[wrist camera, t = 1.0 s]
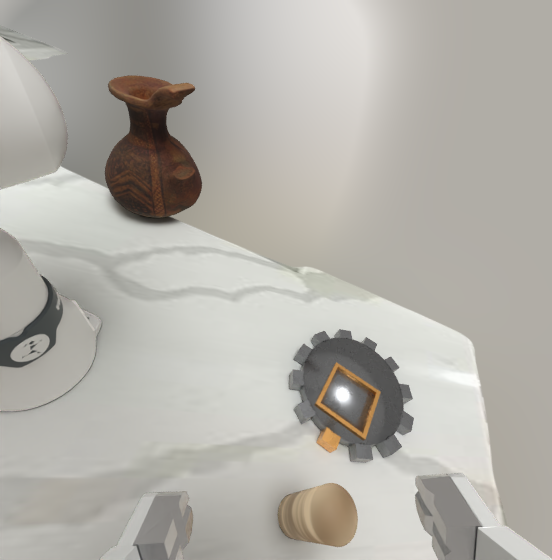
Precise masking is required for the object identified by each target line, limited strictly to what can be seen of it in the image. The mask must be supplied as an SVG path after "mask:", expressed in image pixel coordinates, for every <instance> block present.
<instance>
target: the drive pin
mask: <svg viewBox="0 0 552 560" xmlns="http://www.w3.org/2000/svg"><path fill="white" fill-rule="evenodd" d="M278 521H279V525H280V528H281V530H282V531H283V533H284V534H285V535H286V536H287V537H289V538H292V539H296V540H302V541H307V542H313V543H318V544H324V545H329V546H335V547H342V546H345V545H347V544H348V543H349V542H350V541H351V540H352V539H353V537H354V535H355V533H356V529H357V522H358V518H357V510H356V507H355V504H354V501H353V499H352V497H351V496H350V494H349V493H348V492H347V491H346V490H345V489H344V488H343V487H342V486H340V485H338V484H334V483H328V484H324V485H321V486H317V487H314V488H310V489H307V490H303V491H300V492H296V493H293V494H290V495H287V496H286V497H285V498H284V499H283V500H282V501H281V503H280V506H279V509H278Z"/></svg>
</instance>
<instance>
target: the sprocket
mask: <svg viewBox="0 0 552 560" xmlns="http://www.w3.org/2000/svg"><path fill="white" fill-rule="evenodd" d="M311 342H312V344H313V345H314V348H313V349H311V348H309V347H308V346H306V345H305V344H303V345H302V347H301V348H300V350H299V351H298V353H297V355H296V356H295V358H294V360H295V361H297V362H298V363H300V364H301V365H302V368H301V371H300V370H292V372H291V373H290V375H289V389H292V390H300V394H301V398H302V401H303V402H302V403H300V404H298V406H297V407H296V408H295V409H294V410H295V412H296V414H297V416H298V418H299V420H300V422H301V424H303V423H305V422H306V421H308V420H310V419H312V421H313V422H314V423H315V425H316V426H317V427H318V428H319V429H320V430H321V433H320V435H319V438H318V440H317V443H318V444H319V445H320V446H322V447H323V448H324V449H326V450H327V451H328V452H330V453H331V452H332V451H334V450H336V449H337V446H338V444H339V443H340V444H342V445H345V446H348V447H349V454H350V461H354V462H368V461H371V460H373V456H372V450H371V446H374V445H376V447H377V449H378V450H379V452H380V453H381V455H382V457H383V458H384V457H387V456H390V455H392V454H393V453H395V452H396V451H397V450H398V449H400V448H401V447H402V446H401V444H400V443H399V441H398V440H397V438H396V437H395V435H394V433H395V432H396V431H397V432H399V433H400V434H402V435H404V434H406V433H408V432H411V430H412V425H413V420H414V418H413V417H412V416H410V415H409V414H407V413H406V412H404V411H403V405H404V404H403V403H406V402H408V401H410V400H412V399H413V398H412V395H411V392H410V388H409V385H404V384H399V383H398V380H397V378H396V376H395V374H394V373H393V372H394V371H396V370H397V369H398V368H399V366H398V365H397V364H396V363H395V361H394V360H393V359H392V357H389V358H387V359H385V360H384V359H383V358H382V357H381V356H380V355H379V354H377V353H376V352H375V348H376V346H377V344H376V343H375V342H373V341H371V340H370V339H368V338H367V337H366V338H365V339H364V340H363V341H362V342H361V343H360V342H358V341H355V340H352V336H351V331H346V330H340V329H339V331H338V332H337V333H336V335H335V338H332V339H330V338H329V337H328V335H327V334H326V332H325V331H323V332H320V333H317V334H315V335H314V337H313V338H312V340H311Z"/></svg>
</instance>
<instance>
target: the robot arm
mask: <svg viewBox="0 0 552 560" xmlns="http://www.w3.org/2000/svg"><path fill="white" fill-rule="evenodd" d="M67 139H68V134H67V126H66V122H65V118H64V114H63V111H62V109H61V106H60V104H59V102H58V100H57V98H56V96H55V94H54V93H53V91H52V90H51V88H50V86H49V84H48V83H47V82H46V80H45V79H44V78H43V77H42V75H41V74H40V73H39V72H38V70H37V69H36V68H35V67H34V66H33V65H32V63H30V61H29V60H28V59H27V58H25V57H24V56H23V55H22V54H21V53H20V52H19V51H18V50H17V49H16V48H14V47H13V46H12V45H11V44H10V43H8V42H7V41H6V40H4V39H3V38H2V37H1V36H0V190H1V189H4V188H8V187H11V186H14V185H18V184H21V183H25V182H28V181H31V180H34V179H37V178H40V177H43V176H46V175H49V174H52V173H55V172H56V171H57V170H58V169H59V167H60V165H61V164H62V161H63V159H64V157H65V154H66V149H67ZM88 319H89V320H88ZM101 325H102V321H101V320H100V318H99V317H98V316H96V315H94V314H92V313H90V312H88V311H86V310H83V309H81V308H80V307H79V305H78V304H77V302H76V301H75V300H69V299H68V298H66V297H64V296H61V295H59V294H58V293H57V291H56V289H55V288H54V287H53V286H52V284H50V283H49V281H48V280H47V279H46V278H45V277H43V276H41V275H40V274H39V273H38V271H37V270H36V268H35V266H34V265H33V263H32V262H31V260H30V259H29V257H28V255H27V254H26V252H25V251H24V249H23V248H22V246H21V244H20V243H19V242H18V240H17V239H16V238H14V237H13V236H12V235H11V234H9V233H8V232H6V231H5V230H3V229H1V228H0V411H22V410H27V409H32V408H35V407H38V406H41V405H44V404H46V403H49V402H51V401H53V400H55V399H57V398H58V397H60V396H62V395H63V394H65V393H66V392H68V391H69V390H70V389H71V388H73V387H74V386H75V385H76V384H77V383H78V382H79V381H80V380H81V379H82V378H83V377H84V376H85V374H86V373H87V372H88V370H89V368H90V367H91V365H92V363H93V360H94V358H95V354H96V336H97V334H98V332H99V330H100V328H101ZM415 485H416V487H417V489H418V492H417V493H416V495H415V502H416V507H417V512H418V515H419V518H420V521H421V523H422V525H423V528H424V530H425V531H426V532H427V533H428V534H430V535H431V536H432V547H433V550H434V552H435V554H436V556H437V558H438V560H552V559H551V558H550V557H549V556H547V555H546V554H544V553H543V552H542V551H540V550H539V549H537V548H536V547H535V546H533V545H532V544H531V543H529V542H528V541H526V540H525V539H524V538H522V537H521V536H519V535H518V534H517V533H515V532H514V531H513V530H511V529H510V528H509V527H507V526H501V525H500V523H499V522H498V521H497V519H496V518H495V516H494V515H493V514H492V512H491V511H490V509H489V508H488V507H487V505H486V504H485V502H484V501H483V500H482V498H481V497H480V495H479V494H478V493H477V491H476V490H475V488H474V487H473V486H472V484H471V483H470V481H469V480H468V479H467V477H466V476H465V475H464V474H462V473H454V474H435V475H423V476H417V477H416V480H415ZM188 500H189V496H188V493H187V491H182V492H153V493H145V494H144V495H143V496H142V497H141V498H140V500H139V502H138V504H137V506H136V508H135V510H134V512H133V514H132V516H131V518H130V520H129V522H128V524H127V526H126V528H125V530H124V532H123V534H122V536H121V538H120V540H119V542H118V543H117V545H116V547H111V548H110V549H109V550H108V551H107V552H106V553H105V554H104V555H103V556H102V557H101V558H100V559H99V560H184V558H183V554H182V550H183V549H184V548H185V546H186V545H187V544H188V543H189V539H190V535H191V531H192V524H193V513H192V509H191V507H189V506H188V505H187V503H188Z"/></svg>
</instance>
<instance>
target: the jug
mask: <svg viewBox="0 0 552 560" xmlns="http://www.w3.org/2000/svg"><path fill="white" fill-rule="evenodd" d="M108 87H109V91H110V92H111V94H112V95H114V96H115V97H116V98H118V99H119V100H122V101H124V102H125V103H126V105H127V107H128V111H129V116H130V132H129V134H127V135H126V136H125V137H124V138H123V139H122V140H120V141H119V142H118V143H117V145H116V146H115V147H114V149H113V150H112V152H111V154H110V156H109V158H108V160H107V163H106V168H105V179H106V183H107V186H108V188H109V190H110V192H111V194H112V196H113V197H114V199H115V200H116V201H117V202H119V203H120V204H121V205H122V206H123V207H125V208H126V209H128V210H129V211H131V212H133V213H136V214H139V215H142V216H147V217H155V218H160V217H168V216H171V215H174V214H177V213H179V212H181V211H183V210H185V209H187V208H189V207H191V206H192V205H193V204H194V203H195V202H196V201H197V199H198V197H199V195H200V192H201V188H202V181H201V177H200V174H199V171H198V168H197V166H196V164H195V162H194V161H193V159H192V157H191V156H190V154H189V152H188V151H187V150H186V149H185V147H184V146H183V145H182V144H181V143H180V142H179V141H178V140H177V139H175V138H174V137H172V136H170V134H169V132H168V130H167V126H166V115H167V112H168V110H169V108H172V107H176V106H178V105H180V104H181V103H182V100H183V99H184V97H186V96H187V95H189V94H191V93H192V92H193V91H194V90H195V87H194V86H193V85H192V84H189V83H182V84H175V85H172V84H170V83H169V82H166V81H163V80H160V79H156V78H151V77H144V76H124V77H117V78H114V79H113V80H111V81H110V82H109V84H108Z"/></svg>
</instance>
